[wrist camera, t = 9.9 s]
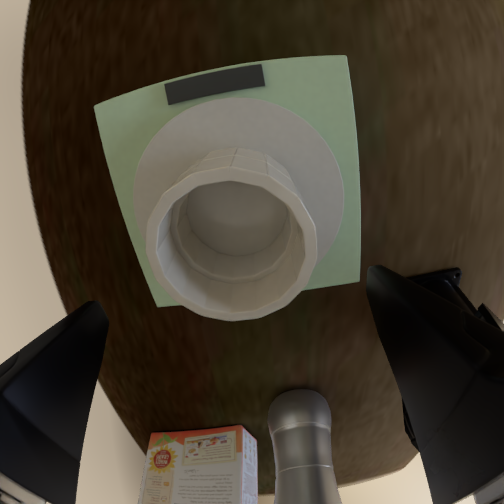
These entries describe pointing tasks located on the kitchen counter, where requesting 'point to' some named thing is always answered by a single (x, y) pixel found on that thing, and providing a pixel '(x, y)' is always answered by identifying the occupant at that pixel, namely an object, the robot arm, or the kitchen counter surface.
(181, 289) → the bowl
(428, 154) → the kitchen counter surface
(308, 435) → the silver metal bottle
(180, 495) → the cracker box
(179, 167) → the scale
